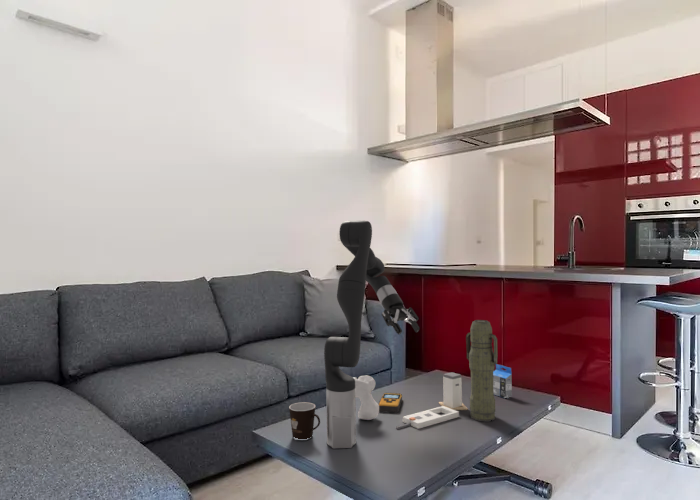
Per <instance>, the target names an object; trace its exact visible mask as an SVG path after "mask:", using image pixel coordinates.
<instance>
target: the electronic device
mask: <svg viewBox="0 0 700 500" xmlns="http://www.w3.org/2000/svg"><path fill="white" fill-rule="evenodd" d="M402 403H403V394H402V393H400V392H398V393H397V392H384V393H383V395H381V398H380V400H379V401H378V405H379V413H394V414H396V413H399V412H400V409H401V407H402Z"/></svg>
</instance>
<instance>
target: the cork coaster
mask: <svg viewBox="0 0 700 500" xmlns="http://www.w3.org/2000/svg"><path fill="white" fill-rule="evenodd" d="M438 404H439V405H440V407H441V406H445V405H443V401H438ZM445 407H447V408H450V409H453V410H455V411H467V410H469V408H468V407H467V406H466V405H465V404H464V403H463V402H462V406H459V407H456V408H451V407H448V406H445Z"/></svg>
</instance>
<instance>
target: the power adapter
mask: <svg viewBox="0 0 700 500" xmlns="http://www.w3.org/2000/svg"><path fill="white" fill-rule="evenodd" d="M442 375H443V377H442V387H443V388H442V393H443V395H442V397H443V398H442V400H443V401H442V402H443V405H445V406H448V407H451V408H456V407H459V406H462V403H463V391H462V390H463V389H462V386H463V385H462V375H461V374H460V373H455V372H446V373H443V374H442Z"/></svg>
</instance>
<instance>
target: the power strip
mask: <svg viewBox="0 0 700 500" xmlns="http://www.w3.org/2000/svg"><path fill="white" fill-rule="evenodd" d="M440 413H442V414H440ZM456 418H460V411H459V410H453V409H450V408H447V407H445V406H441V405H440V406H437V407H434V408H430V409H427V410H421V411H418V412H416V413H412V414H411V413H410V414H407V415H404V416H402V422H403V423H404V424H401V425H398V426H396V428H395V429H396V430H400V429H403V428H404V429H405V428H408V427H413V428H414V429H415V428H416V429H423V428H425V427H430V426H433V425H437V424H439V423H444V422H446V421H449V420H453V419H456Z"/></svg>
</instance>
